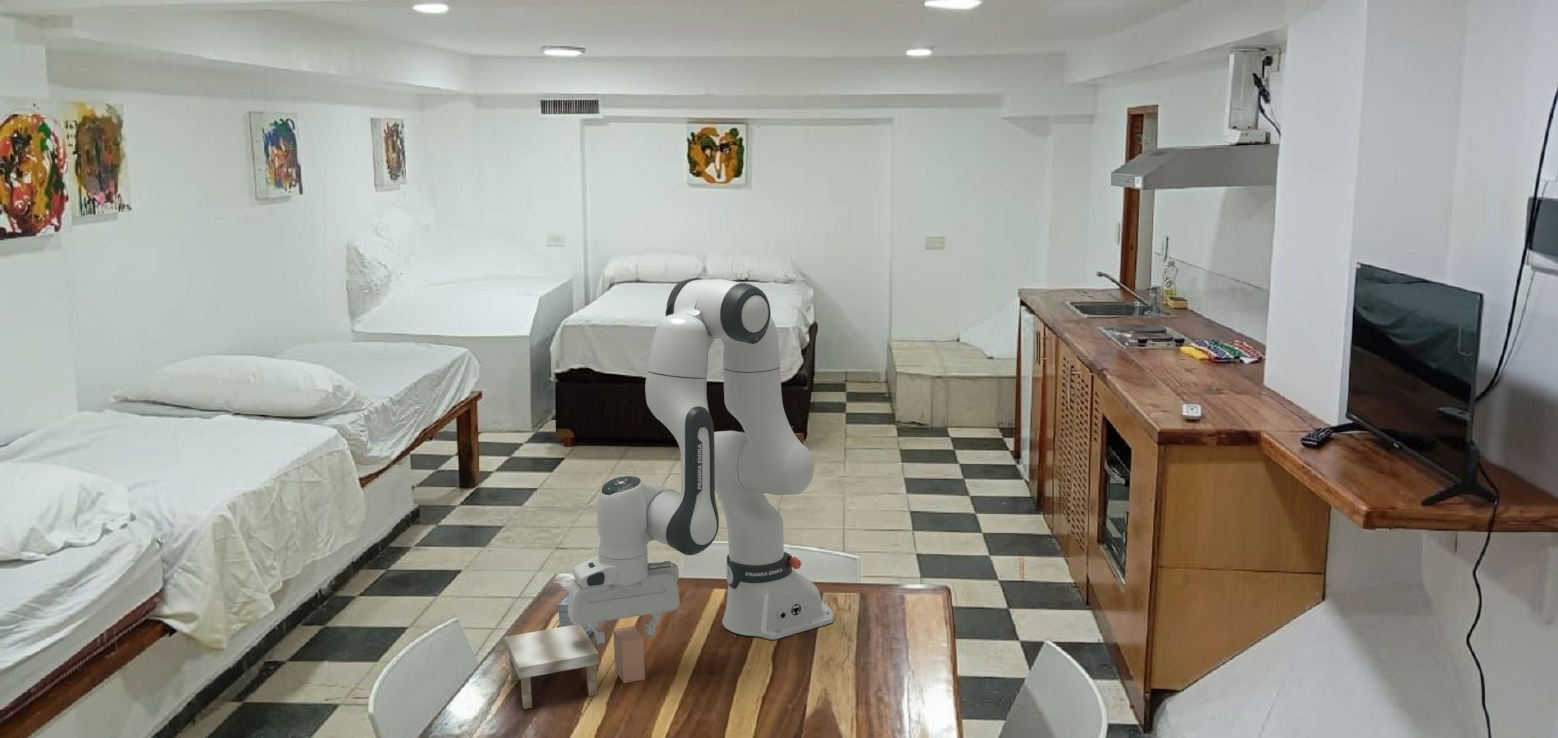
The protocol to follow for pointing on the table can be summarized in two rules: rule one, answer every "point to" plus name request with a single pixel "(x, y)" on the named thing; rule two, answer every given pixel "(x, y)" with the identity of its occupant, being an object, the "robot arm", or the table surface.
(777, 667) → the table surface
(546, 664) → the footstool
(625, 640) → the block
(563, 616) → the medicine box
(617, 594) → the robot arm
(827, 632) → the table surface
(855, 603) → the table surface
